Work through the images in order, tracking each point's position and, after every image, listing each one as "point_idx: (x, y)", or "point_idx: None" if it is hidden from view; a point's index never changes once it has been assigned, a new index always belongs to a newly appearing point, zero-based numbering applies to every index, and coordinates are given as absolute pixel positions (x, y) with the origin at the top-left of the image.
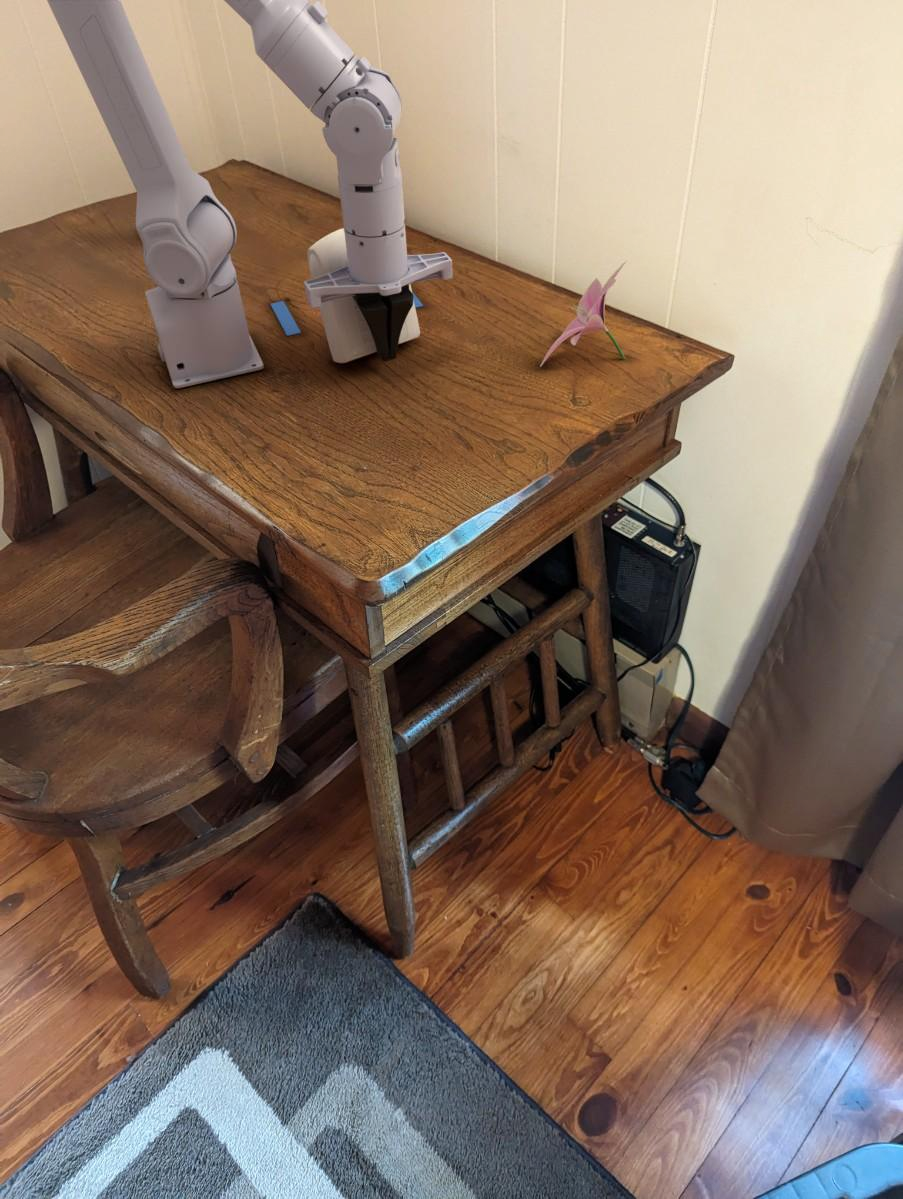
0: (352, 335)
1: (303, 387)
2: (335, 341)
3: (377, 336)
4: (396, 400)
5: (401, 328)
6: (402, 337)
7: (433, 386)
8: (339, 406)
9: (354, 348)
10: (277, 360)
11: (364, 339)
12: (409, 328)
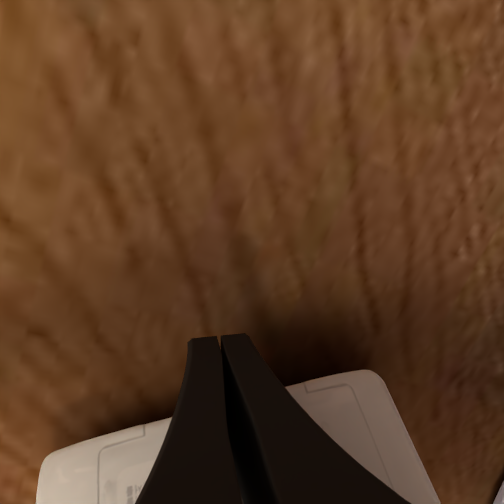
0: (363, 464)
1: (500, 304)
2: (413, 449)
3: (309, 419)
4: (260, 105)
5: (164, 452)
6: (125, 447)
7: (61, 148)
8: (471, 157)
9: (346, 410)
10: (480, 435)
11: None
12: (84, 486)
